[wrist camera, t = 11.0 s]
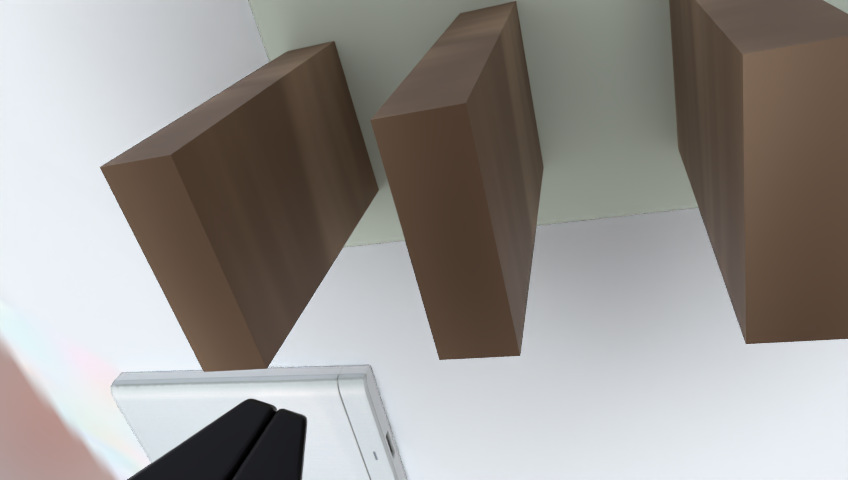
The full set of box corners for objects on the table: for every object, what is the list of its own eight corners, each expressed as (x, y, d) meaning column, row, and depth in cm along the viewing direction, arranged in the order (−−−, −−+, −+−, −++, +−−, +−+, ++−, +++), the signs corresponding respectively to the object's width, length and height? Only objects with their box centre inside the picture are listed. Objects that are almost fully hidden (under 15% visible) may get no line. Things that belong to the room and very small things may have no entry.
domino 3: (677, 148, 18) (746, 343, 11) (667, -33, 16) (743, 54, 9) (738, 140, 18) (852, 338, 10) (735, -48, 16) (879, 30, 8)
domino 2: (493, 174, 20) (439, 360, 13) (460, 13, 18) (370, 119, 10) (543, 167, 20) (520, 355, 12) (516, 1, 17) (466, 102, 10)
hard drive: (177, 510, 32) (408, 522, 29) (105, 388, 28) (361, 384, 25) (194, 483, 34) (417, 491, 30) (128, 363, 30) (373, 356, 26)
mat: (248, -14, 19) (244, -12, 19) (1426, -319, 12) (1446, -323, 11) (337, 244, 23) (334, 248, 23) (1255, 139, 16) (1266, 143, 15)
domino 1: (335, 196, 22) (203, 372, 14) (287, 50, 20) (100, 167, 12) (378, 190, 21) (266, 368, 14) (334, 40, 19) (170, 154, 11)
